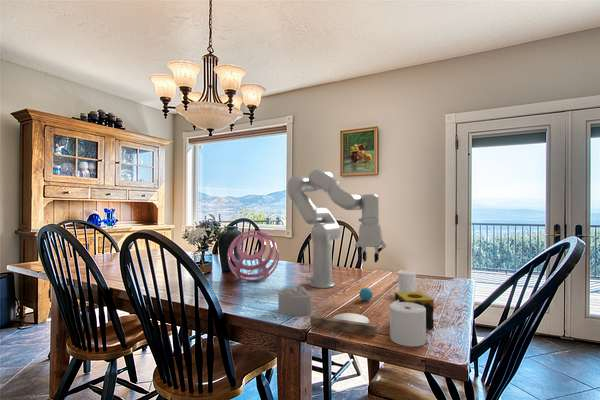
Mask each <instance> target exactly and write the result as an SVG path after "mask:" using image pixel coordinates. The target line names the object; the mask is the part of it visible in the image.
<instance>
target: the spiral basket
mask: <svg viewBox="0 0 600 400" xmlns="http://www.w3.org/2000/svg"><path fill="white" fill-rule="evenodd" d="M248 238H249V239H250V238H256V239H258V240H259V241H260V243H261V244H260V245H261V246H260V249H259V251H257V250H256V249H253V251H254V254H247V253H248V250H249V249H248V248H246V250H244V251H243V249H242V244H243V242H244V241H245V240H246V239H248ZM266 240H267V242H268V243H269V253H268V255H267V256H266V258H265V259H264V260H263V259H262V256H263V255H264V254H265V252H266V249H267V243H266ZM235 247H236V250H237V251H236V252H237V254H238V255H239V256H240V259H239V260H238V259H237V257H236V256H235V252H234V249H235ZM274 251H275V256H274V258H273V255H274ZM272 258H273V261H272V263H271V264H270V265H269V267H267V264H268V263H270V261H271V260H272ZM231 260H232V261H233V263H234V264H235V266H236V267H235V266H234V265H233V263H232V261H231ZM244 260H245V261H256V260H257V262H258V263H257V264H253V265H247V264H245V263H243V262H244ZM279 261H280V252H279V248H278V245H277V242H276V241H275V240H274V238H272V236H271V235H269V234H267V233H266V232H263V231H260V230H248V231H244V232H242V233H240V234H238V236H237V237H236V236H235V238H234V239H233V240H232V241H231V243H230V244H229V247H228V250H227V263H228V267H229V269H230V271H231V272H232V274H233V275H234V276H236V278H238V279H240V280H243V282H244V281H245V282H250V283H251V282H252V283H253V282H259V281H262V280H266V279H268V278H269V277H270V276H271V275H272V274H273V272H274V271H275V270H276V269H277V267H278V264H279ZM260 269H261V270H262V271H261V270H260ZM241 270H244V271H245V270H246V271H249V272H247V273H245V272H242V271H241ZM255 270H258V272H257V273H252V272H253V271H255ZM259 277H260V278H259ZM250 278H251V279H250ZM253 278H255V279H253Z"/></svg>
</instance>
